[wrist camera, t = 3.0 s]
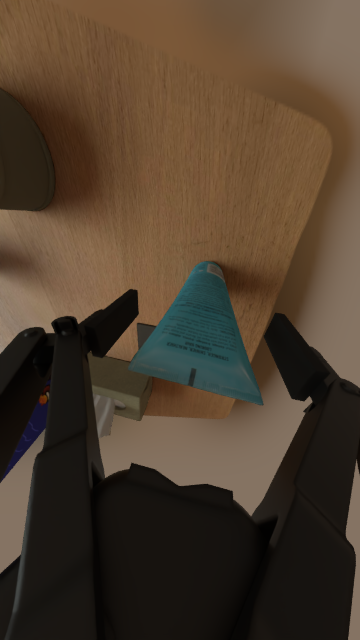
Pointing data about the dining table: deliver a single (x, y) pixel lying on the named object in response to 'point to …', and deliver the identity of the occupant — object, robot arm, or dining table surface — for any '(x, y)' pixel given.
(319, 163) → the dining table surface
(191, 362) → the tube
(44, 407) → the cereal box
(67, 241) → the dining table surface
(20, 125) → the can
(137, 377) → the tissue box
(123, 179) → the dining table surface
